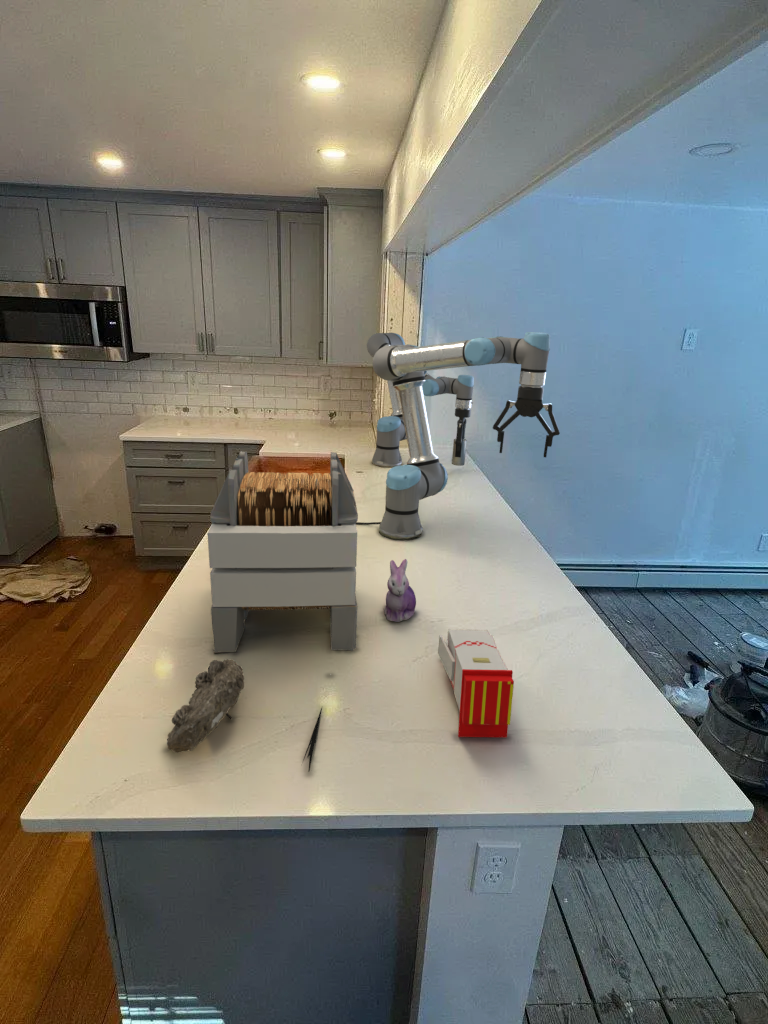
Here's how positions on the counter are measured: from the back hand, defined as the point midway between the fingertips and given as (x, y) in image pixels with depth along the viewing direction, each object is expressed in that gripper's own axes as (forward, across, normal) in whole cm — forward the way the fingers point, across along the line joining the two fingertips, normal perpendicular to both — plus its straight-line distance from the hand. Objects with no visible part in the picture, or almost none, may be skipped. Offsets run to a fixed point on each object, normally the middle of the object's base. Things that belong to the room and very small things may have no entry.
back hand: (458, 455), depth 278 cm
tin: (+4, 0, 0) cm, 4 cm away
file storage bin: (+8, -155, +21) cm, 157 cm away
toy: (+8, -171, -27) cm, 173 cm away
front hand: (-25, -92, -31) cm, 100 cm away
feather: (+8, -189, 0) cm, 189 cm away
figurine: (+8, -145, -6) cm, 145 cm away
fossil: (+8, -194, +19) cm, 195 cm away
